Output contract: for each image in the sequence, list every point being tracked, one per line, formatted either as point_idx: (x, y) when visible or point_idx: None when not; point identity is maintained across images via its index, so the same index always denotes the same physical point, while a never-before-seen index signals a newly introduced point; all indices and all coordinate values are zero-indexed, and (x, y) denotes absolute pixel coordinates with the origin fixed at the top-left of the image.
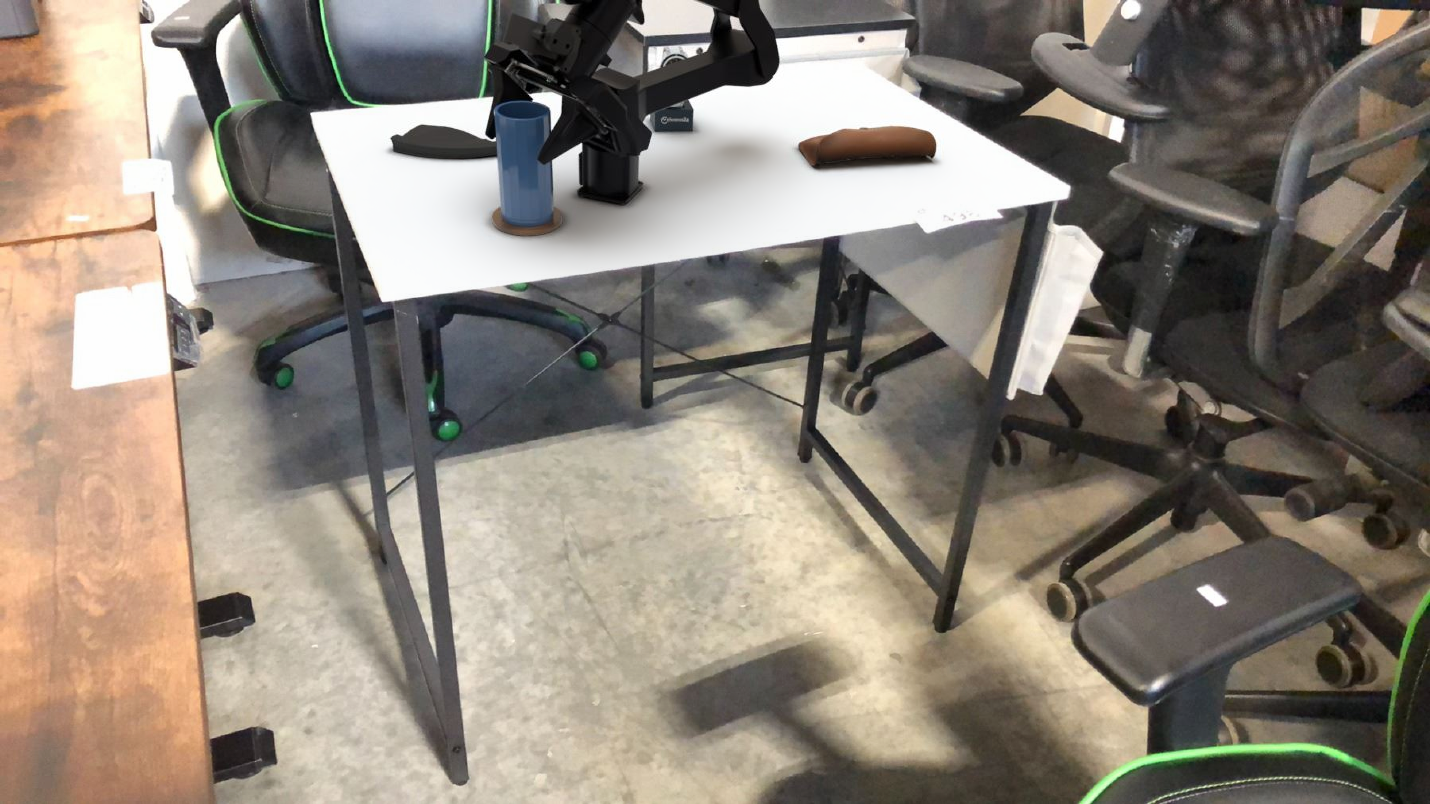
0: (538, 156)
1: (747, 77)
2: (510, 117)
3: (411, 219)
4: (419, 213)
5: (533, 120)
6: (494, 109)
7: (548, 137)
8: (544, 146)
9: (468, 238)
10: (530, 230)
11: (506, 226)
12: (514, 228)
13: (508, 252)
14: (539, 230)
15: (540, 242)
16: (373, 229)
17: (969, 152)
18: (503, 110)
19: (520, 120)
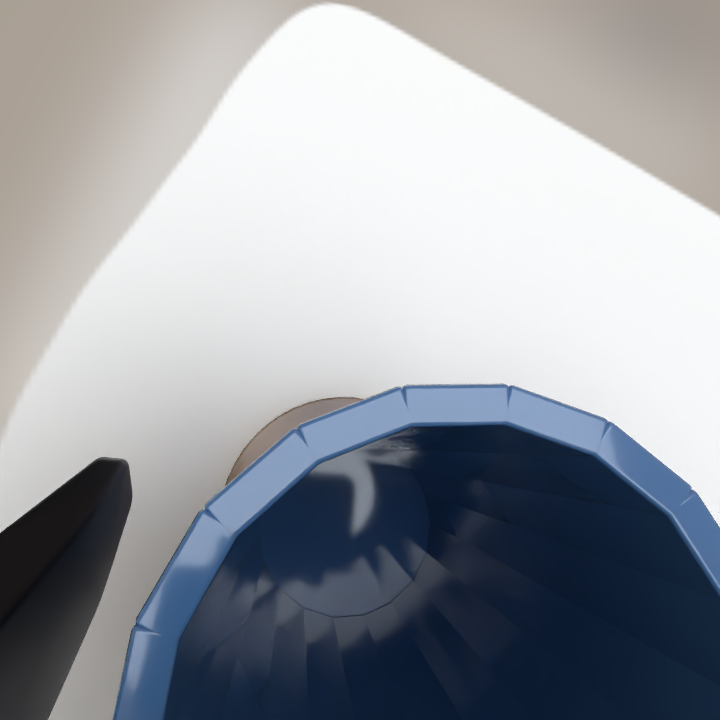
0: (111, 467)
1: None
2: (634, 698)
3: (594, 277)
4: (611, 319)
5: (150, 599)
6: (684, 484)
7: (5, 594)
8: (58, 528)
9: (385, 298)
10: (253, 443)
11: (335, 409)
12: (304, 416)
13: (226, 311)
14: (233, 468)
15: (195, 429)
16: (608, 170)
17: None
18: (693, 646)
19: (254, 467)
